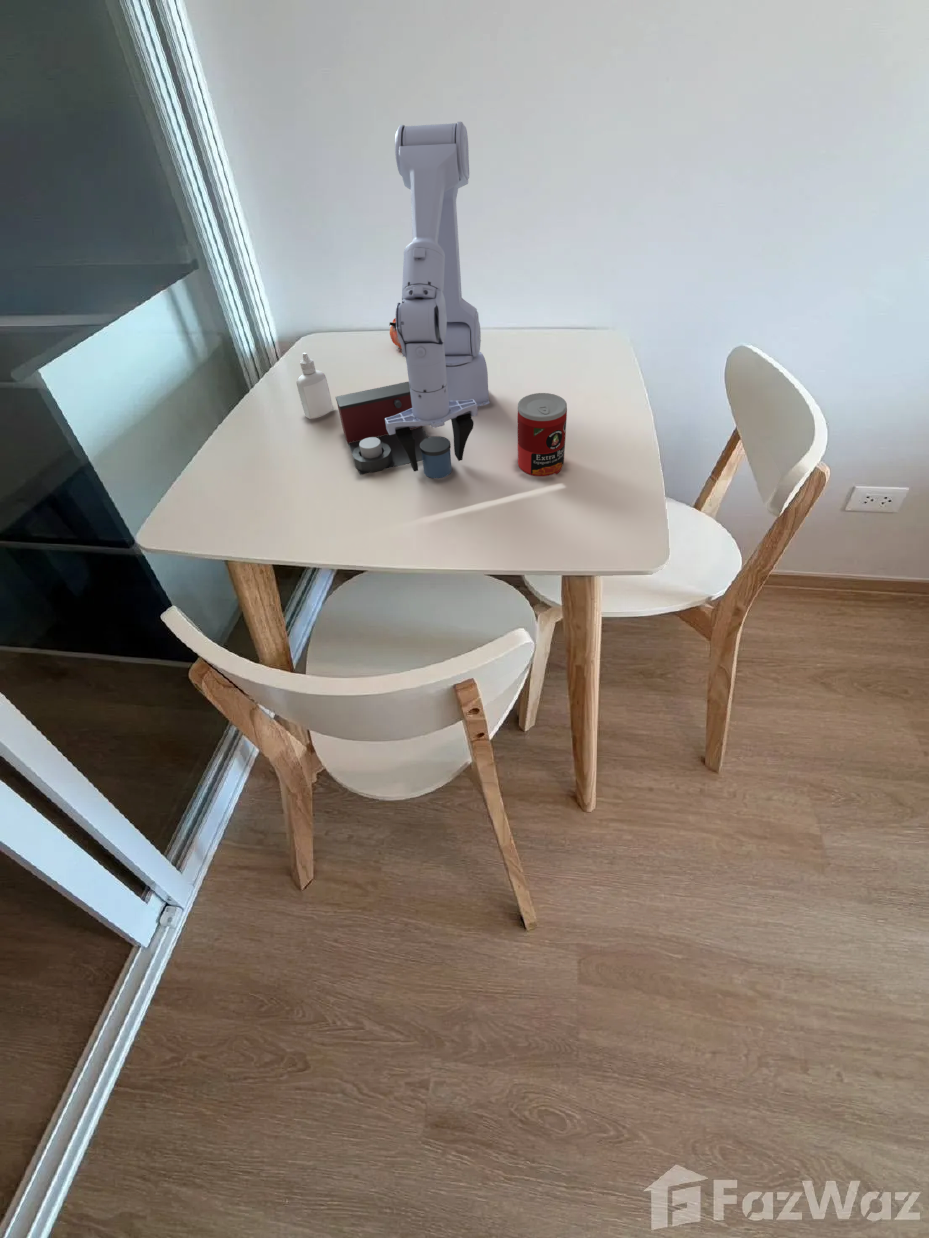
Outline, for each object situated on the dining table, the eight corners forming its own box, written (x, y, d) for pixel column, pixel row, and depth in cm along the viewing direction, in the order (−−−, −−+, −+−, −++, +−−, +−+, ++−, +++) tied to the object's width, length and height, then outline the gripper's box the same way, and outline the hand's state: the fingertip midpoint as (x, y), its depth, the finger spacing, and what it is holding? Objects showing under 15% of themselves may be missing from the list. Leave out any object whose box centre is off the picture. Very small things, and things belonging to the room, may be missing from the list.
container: (447, 462, 106) (445, 433, 102) (456, 477, 103) (454, 448, 99) (419, 469, 106) (416, 440, 102) (428, 484, 102) (424, 455, 98)
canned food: (533, 484, 100) (534, 422, 92) (508, 462, 105) (507, 401, 97) (573, 470, 102) (577, 407, 94) (546, 448, 107) (549, 387, 99)
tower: (424, 432, 114) (419, 392, 108) (349, 449, 111) (340, 409, 106) (416, 419, 117) (412, 380, 112) (343, 435, 115) (335, 396, 109)
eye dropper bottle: (335, 417, 120) (320, 355, 111) (306, 422, 119) (289, 360, 111) (333, 407, 123) (319, 346, 114) (304, 412, 122) (288, 351, 114)
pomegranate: (410, 348, 146) (375, 329, 139) (426, 319, 142) (391, 299, 135) (421, 363, 141) (385, 345, 135) (438, 334, 138) (402, 314, 131)
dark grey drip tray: (440, 460, 107) (438, 446, 105) (359, 478, 105) (356, 465, 103) (422, 429, 115) (421, 416, 113) (347, 446, 112) (344, 433, 110)
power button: (384, 456, 105) (382, 445, 103) (363, 461, 104) (361, 450, 103) (379, 446, 107) (377, 435, 106) (359, 450, 107) (357, 439, 105)
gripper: (387, 405, 89) (400, 485, 99) (482, 385, 92) (486, 465, 101) (376, 385, 94) (390, 463, 104) (467, 366, 96) (472, 444, 106)
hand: (436, 462), depth 103 cm, fingers open, 7 cm apart
